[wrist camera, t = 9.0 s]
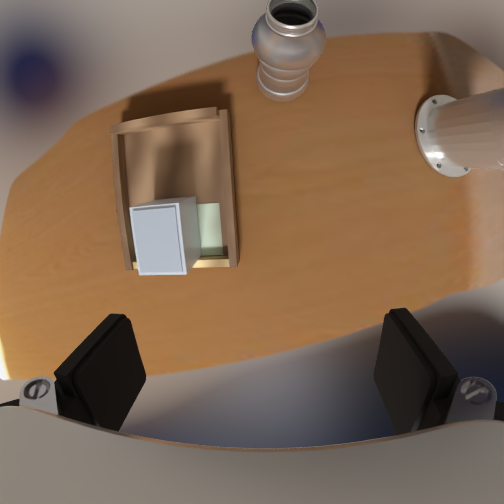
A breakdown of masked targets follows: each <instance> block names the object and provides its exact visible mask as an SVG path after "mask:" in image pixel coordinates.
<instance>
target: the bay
mask: <svg viewBox="0 0 504 504" xmlns="http://www.w3.org/2000/svg"><path fill="white" fill-rule="evenodd" d="M110 133H111V141H112V161H113V175H114V186H115V196H116V206H117V214H118V222H119V229H120V236H121V243H122V249H123V255H124V261H125V267H126V270H133V269H138V265H137V259H136V253H135V246H134V240H133V233H132V225H131V217H130V209H129V208H130V207H133V206H136V205H139V204H142V203H146V202H149V201H152V200H159V199H169V198H180V197H192V196H196V204H197V216H198V227H199V237H200V247H201V256H200V258H199V259H198V260H197V262H196V263H195V264H194V266H193V267H192V268H195V267H229V268H236V267H238V263H239V246H238V232H237V217H236V202H235V186H234V170H233V153H232V136H231V118H230V113H229V111H228V110H227V109H224V110H218V108H217V107H209V108H201V109H193V110H186V111H179V112H173V113H167V114H161V115H156V116H151V117H146V118H141V119H136V120H131V121H127V122H122V123H118V124H114V125H110Z"/></svg>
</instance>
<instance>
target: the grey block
mask: <svg viewBox="0 0 504 504" xmlns="http://www.w3.org/2000/svg"><path fill="white" fill-rule="evenodd" d="M129 209H130V217H131V225H132V233H133V240H134V246H135V253H136V259H137V265H138V271H139V275H180V274H187V273H188V272H189V271H190V269H191V268H192V267H193V266H194V264H195V263H196V262H197V260H198V259H199V258H200V256H201V247H200V237H199V227H198V216H197V204H196V196H192V197H180V198H169V199H159V200H152V201H149V202H146V203H142V204H139V205H136V206H133V207H130V208H129Z"/></svg>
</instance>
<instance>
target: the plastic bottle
mask: <svg viewBox="0 0 504 504" xmlns="http://www.w3.org/2000/svg"><path fill="white" fill-rule="evenodd" d="M266 10H267V11H266V13H265V14H263V15H262V16H261V17H260V18H259V20H258V21H257V22H256V24H255V26H254V28H253V30H252V35H251V40H252V45H253V48H254V51H255V53H256V55H257V57H258V59H259V62H260V65H259V67H258V69H257V73H256V83H257V86H258V88H259V90H260V91H261V92H262V93H263V94H264V96H266V97H267V98H269V99H271V100H273V101H276V102H288V101H291V100H293V99H296V98H297V97H299V96H300V95H301V94H302V93H303V92H304V91H305V90H306V88H307V86H308V83H309V69H310V67H311V66H312V65H313V64H314V63H315V62H316V61H317V60H318V59H319V57H320V56H321V55H322V53H323V51H324V50H325V47H326V41H327V38H326V33H325V29H324V27H323V24H322V23H321V21H320V20H319V19H318V14H319V9H318V5H317V3H316V2H315V0H269V2H268V4H267V8H266Z"/></svg>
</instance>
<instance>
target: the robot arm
mask: <svg viewBox="0 0 504 504" xmlns="http://www.w3.org/2000/svg"><path fill="white" fill-rule="evenodd" d="M420 130H421V132H420ZM415 134H416V140H417V143H418V146H419V149H420V151H421V153H422V155H423V157H424V158H425V160H426V161H427V163H428V164H429V165H430V166H431V167H432V168H433V169H434V170H436V171H437V172H438V173H440V174H442V175H445V176H449V177H459V176H463V175H465V174H467V173H468V172H469V171H470V170H471V169H472V168H480V169H491V170H501V171H504V88H501V89H496V90H492V91H488V92H484V93H481V94H477V95H473V96H470V97H466V98H462V99H459V100H457V99H455V98H453V97H451V96H448V95H435V96H432V97H430V98H428V99H427V100H425V101H424V102H423V103H422V104H421V106H420V108H419V109H418V112H417V115H416V120H415ZM54 375H55V377H56V379H57V380H56V381H55V382H54V381H53V380H52V379H51V378H49V377H44V376H40V377H35V378H33V379H30V380H29V381H27V382H26V383H25V384H24V385H23V386H22V388H21V390H20V399H17V400H13V401H9V402H6V403H2V404H0V504H504V403H502V402H499V401H496V390H495V388H494V387H493V386H492V385H491V383H489V382H488V381H486V380H484V379H482V378H478V377H468V378H466V379H463V380H462V381H460V379H459V378H458V376H457V375H458V373H457V372H456V370H455V369H454V367H453V366H452V365H451V363H450V362H449V361H448V359H447V358H446V357H445V356H444V354H443V353H442V352H441V350H440V349H439V348H438V346H437V345H436V344H435V343H434V341H433V340H432V339H431V338H430V336H429V335H428V334H427V333H426V331H425V330H424V329H423V328H422V327H421V325H420V324H419V323H418V322H417V320H416V319H415V318H414V317H413V316H412V314H411V313H410V312H409V311H408V310H407V309H406V308H398V309H391V310H390V311H389V313H388V314H385V317H384V323H383V329H382V334H381V340H380V345H379V351H378V356H377V361H376V365H375V370H374V380H375V383H376V386H377V388H378V390H379V393H380V396H381V398H382V401H383V403H384V406H385V408H386V411H387V413H388V416H389V419H390V421H391V424H392V427H393V429H394V432H395V435H396V436H391V437H385V438H380V439H373V440H368V441H361V442H354V443H347V444H338V445H328V446H318V447H302V448H278V449H277V448H273V449H259V448H253V449H252V448H229V447H214V446H213V447H212V446H202V445H193V444H185V443H177V442H170V441H164V440H157V439H152V438H146V437H141V436H136V435H131V434H126V433H122V432H119V430H120V428H121V426H122V424H123V422H124V420H125V418H126V416H127V415H128V413H129V411H130V409H131V407H132V405H133V403H134V402H135V400H136V398H137V396H138V394H139V392H140V391H141V389H142V387H143V385H144V383H145V381H146V373H145V370H144V367H143V363H142V360H141V357H140V353H139V350H138V346H137V343H136V339H135V335H134V332H133V328H132V324H131V321H130V319H129V318H127V317H126V315H124V314H109V315H108V316H107V317H106V318H105V319H104V320H103V321H102V322H101V323H100V324H99V325H98V326H97V327H96V328H95V330H94V331H93V332H92V333H91V334H90V335H89V336H88V337H87V338H86V339H85V340H84V341H83V342H82V343H81V344H80V345H79V346H78V347H77V348H76V349H75V350H74V351H73V352H72V353H71V354H70V356H69V357H68V358H67V359H66V360H65V361H64V362H63V363H62V364H61V365H60V366H59V367H58V368H57V370H56V371H55V372H54Z"/></svg>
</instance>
